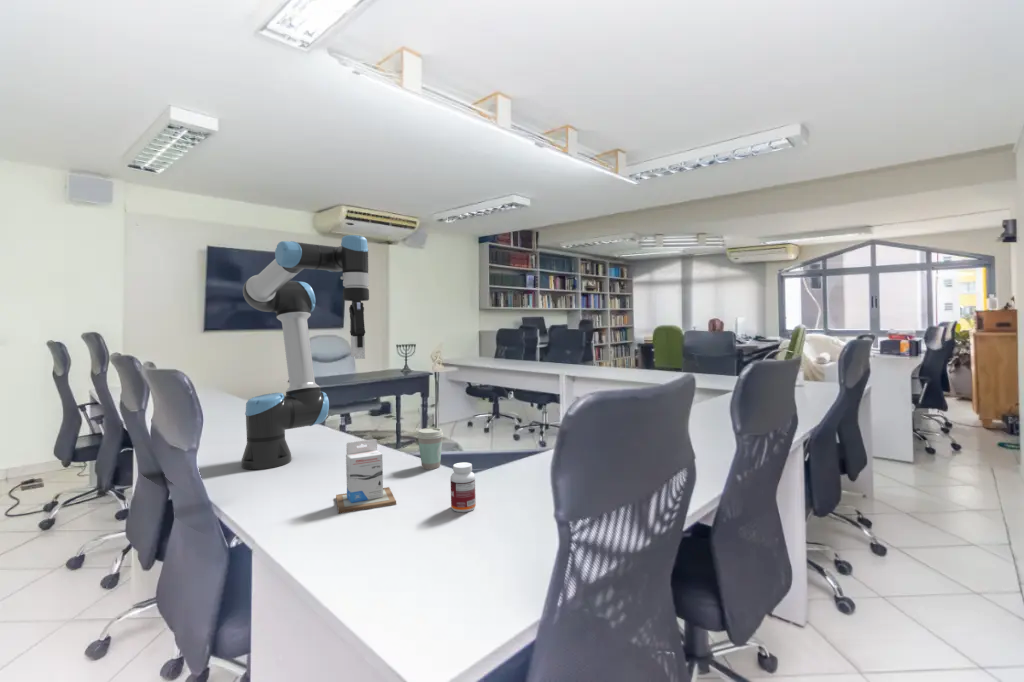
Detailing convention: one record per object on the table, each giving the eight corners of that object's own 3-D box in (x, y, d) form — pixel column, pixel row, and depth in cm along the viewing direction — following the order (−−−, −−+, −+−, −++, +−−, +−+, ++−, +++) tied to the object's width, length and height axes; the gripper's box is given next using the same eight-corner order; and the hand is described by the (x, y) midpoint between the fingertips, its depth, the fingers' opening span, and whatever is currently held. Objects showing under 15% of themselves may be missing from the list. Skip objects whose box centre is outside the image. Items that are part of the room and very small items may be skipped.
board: (336, 497, 129) (336, 494, 129) (389, 489, 134) (389, 486, 134) (338, 513, 118) (338, 509, 118) (396, 504, 123) (396, 500, 123)
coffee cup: (441, 470, 152) (441, 432, 152) (415, 470, 152) (414, 433, 152) (446, 462, 161) (445, 427, 160) (420, 463, 161) (419, 427, 160)
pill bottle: (452, 503, 123) (451, 461, 123) (476, 503, 123) (475, 461, 123) (449, 513, 117) (448, 468, 117) (474, 512, 117) (473, 468, 117)
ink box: (350, 504, 122) (349, 446, 121) (346, 498, 126) (344, 442, 126) (384, 497, 126) (382, 442, 126) (378, 491, 130) (377, 438, 130)
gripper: (340, 290, 155) (342, 355, 156) (345, 283, 132) (347, 360, 133) (364, 290, 158) (366, 354, 159) (373, 284, 135) (375, 359, 136)
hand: (357, 357), depth 146 cm, fingers open, 13 cm apart
